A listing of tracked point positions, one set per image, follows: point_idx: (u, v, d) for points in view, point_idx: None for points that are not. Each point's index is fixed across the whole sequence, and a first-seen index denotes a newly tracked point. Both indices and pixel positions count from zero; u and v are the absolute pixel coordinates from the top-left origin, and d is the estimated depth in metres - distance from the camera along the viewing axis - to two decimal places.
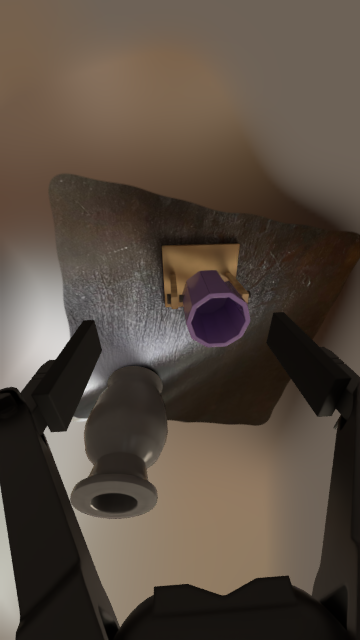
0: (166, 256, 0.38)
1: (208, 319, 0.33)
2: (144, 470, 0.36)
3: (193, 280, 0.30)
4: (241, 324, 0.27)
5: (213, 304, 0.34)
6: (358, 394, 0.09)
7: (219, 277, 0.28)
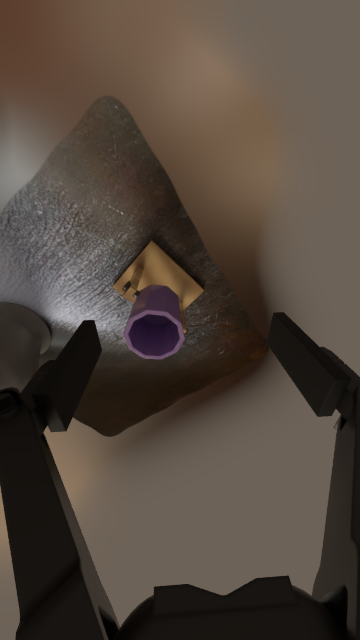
0: (148, 251, 0.38)
1: (143, 326, 0.34)
2: None
3: (157, 289, 0.31)
4: (167, 350, 0.29)
5: (155, 318, 0.35)
6: (358, 394, 0.09)
7: (178, 303, 0.31)
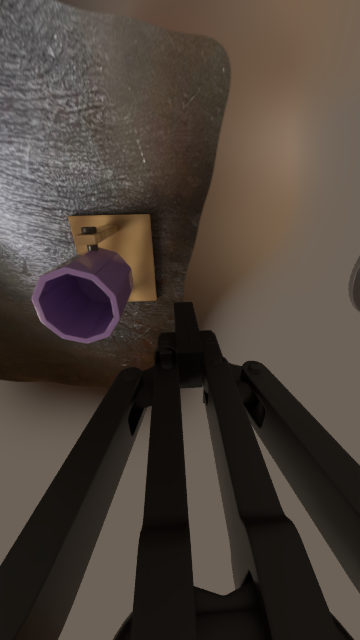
0: (138, 220, 0.31)
1: (70, 286, 0.25)
2: None
3: (120, 263, 0.25)
4: (79, 334, 0.21)
5: (91, 288, 0.27)
6: (207, 370, 0.10)
7: (129, 295, 0.25)
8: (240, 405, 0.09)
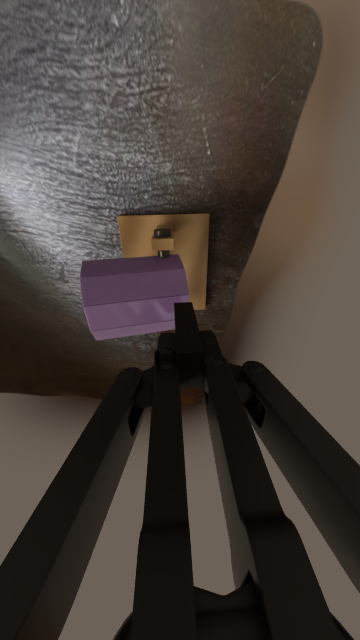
0: (196, 220, 0.28)
1: None
2: None
3: (164, 281, 0.19)
4: None
5: None
6: (207, 370, 0.10)
7: (152, 320, 0.19)
8: (240, 405, 0.09)
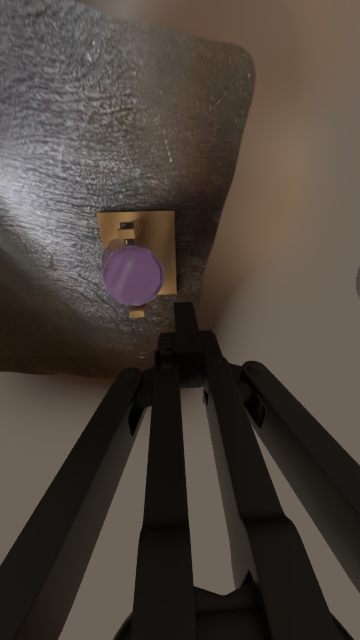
0: (163, 216, 0.33)
1: None
2: None
3: (106, 257, 0.26)
4: None
5: None
6: (207, 370, 0.10)
7: None
8: (240, 405, 0.09)
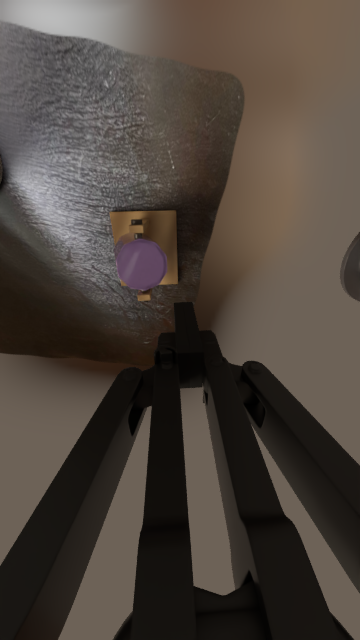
0: (166, 215, 0.38)
1: None
2: None
3: (119, 249, 0.32)
4: None
5: None
6: (207, 370, 0.10)
7: None
8: (240, 405, 0.09)
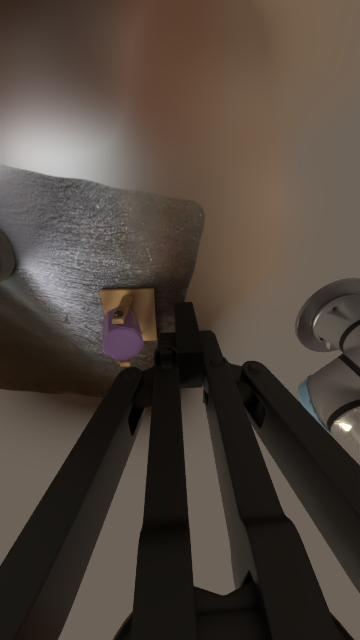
0: (145, 292, 0.48)
1: None
2: None
3: (105, 331, 0.41)
4: None
5: None
6: (207, 370, 0.10)
7: None
8: (240, 405, 0.09)
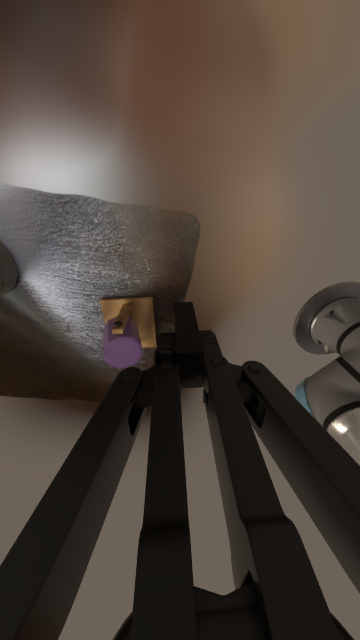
0: (144, 301, 0.49)
1: None
2: None
3: (105, 340, 0.42)
4: None
5: None
6: (207, 370, 0.10)
7: None
8: (240, 405, 0.09)
